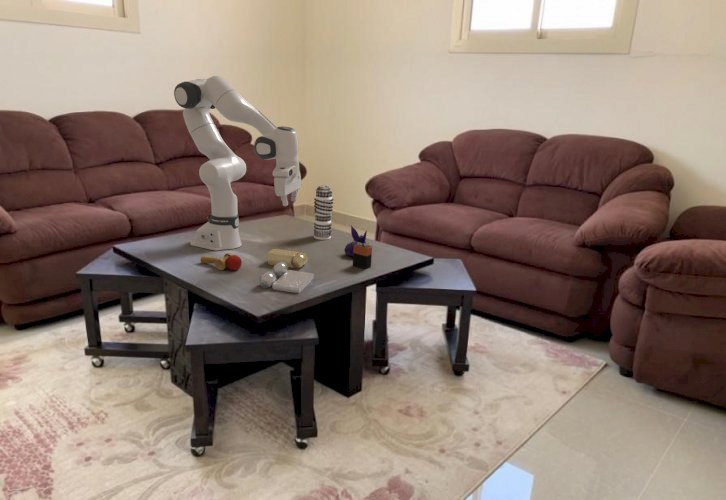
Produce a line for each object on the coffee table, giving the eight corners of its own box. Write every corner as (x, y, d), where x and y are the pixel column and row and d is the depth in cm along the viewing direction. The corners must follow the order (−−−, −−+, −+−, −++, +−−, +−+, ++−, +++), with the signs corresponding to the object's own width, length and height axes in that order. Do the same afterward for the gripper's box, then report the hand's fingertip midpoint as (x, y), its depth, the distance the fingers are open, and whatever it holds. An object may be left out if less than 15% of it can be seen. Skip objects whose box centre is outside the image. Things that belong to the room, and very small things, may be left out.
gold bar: (302, 269, 211) (302, 257, 209) (267, 264, 214) (267, 252, 212) (307, 264, 216) (307, 253, 215) (273, 259, 220) (273, 248, 218)
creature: (374, 250, 240) (376, 224, 236) (356, 261, 224) (358, 233, 220) (357, 247, 243) (358, 221, 239) (338, 257, 227) (339, 230, 224)
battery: (365, 269, 215) (367, 246, 212) (352, 265, 218) (353, 242, 215) (371, 266, 218) (372, 243, 215) (357, 263, 222) (359, 240, 219)
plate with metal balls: (299, 293, 187) (299, 280, 185) (258, 287, 190) (258, 274, 189) (313, 278, 202) (314, 266, 200) (276, 272, 205) (276, 260, 204)
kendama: (196, 269, 207) (234, 271, 200) (195, 253, 207) (233, 255, 200) (208, 267, 214) (246, 269, 208) (208, 252, 214) (245, 253, 207)
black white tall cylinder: (331, 240, 251) (333, 189, 243) (312, 239, 250) (313, 188, 243) (332, 235, 259) (334, 185, 252) (313, 234, 259) (315, 184, 252)
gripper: (289, 165, 217) (291, 197, 221) (270, 172, 198) (272, 208, 202) (304, 165, 215) (305, 198, 219) (286, 173, 196) (288, 209, 200)
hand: (289, 203), depth 210 cm, fingers open, 8 cm apart
